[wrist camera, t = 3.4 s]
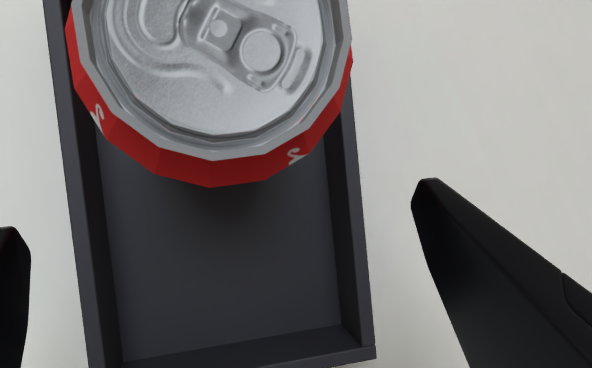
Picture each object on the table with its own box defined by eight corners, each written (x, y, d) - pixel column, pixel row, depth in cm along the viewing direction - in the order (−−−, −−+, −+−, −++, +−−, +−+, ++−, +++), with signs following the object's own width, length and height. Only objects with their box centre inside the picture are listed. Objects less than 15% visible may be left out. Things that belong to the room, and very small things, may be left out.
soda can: (113, 140, 19) (-33, 94, 8) (178, 12, 20) (135, -223, 8) (244, 201, 20) (296, 245, 9) (303, 80, 21) (429, -36, 9)
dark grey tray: (351, 330, 22) (377, 359, 19) (112, 373, 20) (94, 414, 17) (319, -2, 21) (341, -34, 18) (67, 5, 19) (38, -30, 16)
